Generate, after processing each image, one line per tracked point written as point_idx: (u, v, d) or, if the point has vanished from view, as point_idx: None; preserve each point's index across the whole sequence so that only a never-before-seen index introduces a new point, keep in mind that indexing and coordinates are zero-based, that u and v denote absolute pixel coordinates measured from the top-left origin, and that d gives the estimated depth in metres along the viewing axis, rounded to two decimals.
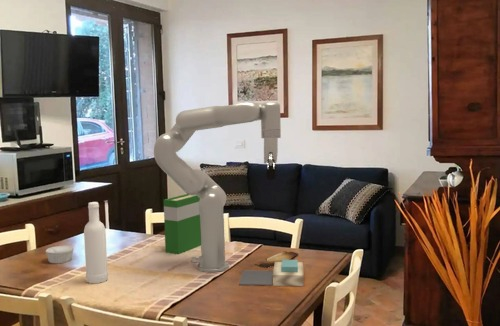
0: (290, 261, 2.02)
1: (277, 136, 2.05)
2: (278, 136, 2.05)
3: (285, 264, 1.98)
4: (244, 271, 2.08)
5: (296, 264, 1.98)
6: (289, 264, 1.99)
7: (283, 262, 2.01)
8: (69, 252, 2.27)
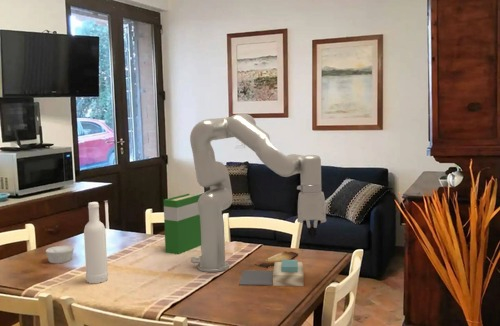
0: (290, 261, 2.02)
1: None
2: None
3: (285, 264, 1.98)
4: (244, 271, 2.08)
5: (296, 264, 1.98)
6: (289, 264, 1.99)
7: (283, 262, 2.01)
8: (69, 252, 2.27)
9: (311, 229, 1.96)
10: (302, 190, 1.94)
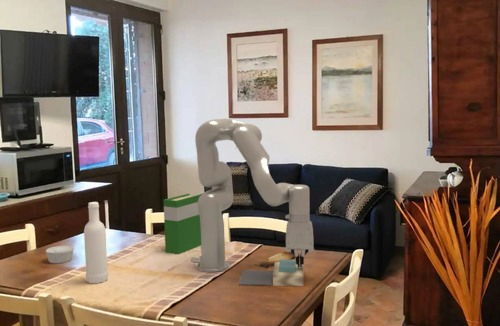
0: (288, 261, 2.02)
1: None
2: None
3: (282, 264, 1.98)
4: (244, 271, 2.08)
5: (294, 264, 1.98)
6: (287, 264, 1.99)
7: (281, 262, 2.01)
8: (69, 252, 2.27)
9: (299, 258, 1.98)
10: (290, 219, 1.96)
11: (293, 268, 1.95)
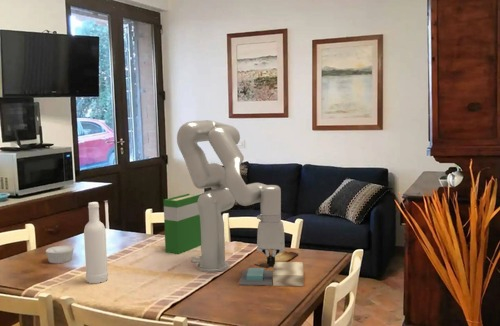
0: None
1: None
2: None
3: None
4: (244, 271, 2.08)
5: None
6: None
7: None
8: (69, 252, 2.27)
9: (270, 258, 1.99)
10: (261, 220, 1.97)
11: (248, 279, 1.97)
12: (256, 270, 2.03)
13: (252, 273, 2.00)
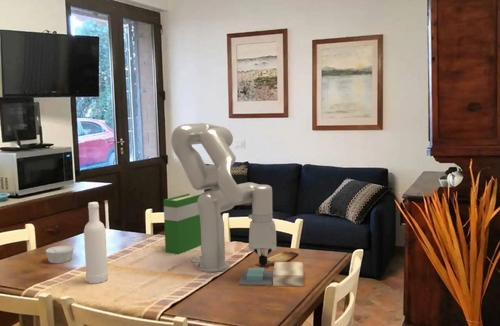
0: None
1: None
2: None
3: None
4: (244, 271, 2.08)
5: None
6: None
7: None
8: (69, 252, 2.27)
9: (262, 257, 1.99)
10: (253, 219, 1.97)
11: (248, 279, 1.97)
12: (256, 270, 2.03)
13: (252, 273, 2.00)
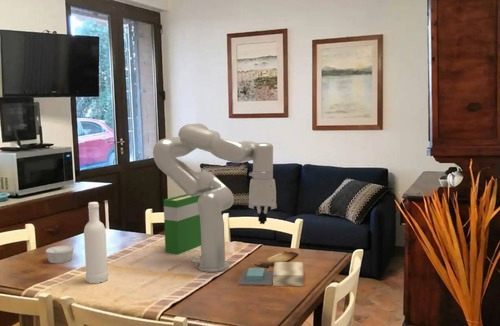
0: None
1: None
2: None
3: None
4: (244, 271, 2.08)
5: None
6: None
7: None
8: (69, 252, 2.27)
9: (261, 215, 2.01)
10: (253, 176, 1.99)
11: (248, 279, 1.97)
12: (256, 270, 2.03)
13: (252, 273, 2.00)
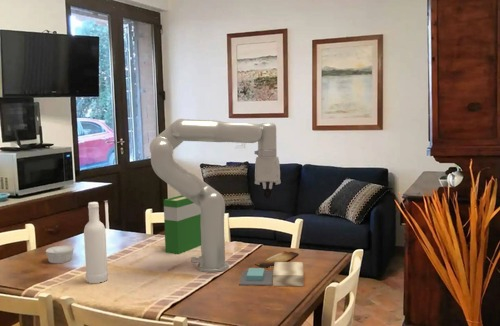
0: None
1: None
2: None
3: None
4: (244, 271, 2.08)
5: None
6: None
7: None
8: (69, 252, 2.27)
9: (267, 190, 2.17)
10: (259, 154, 2.15)
11: (248, 279, 1.97)
12: (256, 270, 2.03)
13: (252, 273, 2.00)
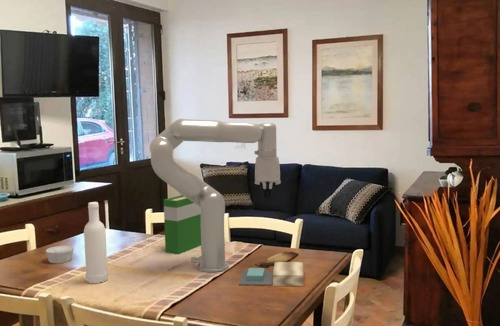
0: None
1: None
2: None
3: None
4: (244, 271, 2.08)
5: None
6: None
7: None
8: (69, 252, 2.27)
9: (267, 190, 2.17)
10: (259, 154, 2.15)
11: (248, 279, 1.97)
12: (256, 270, 2.03)
13: (252, 273, 2.00)
